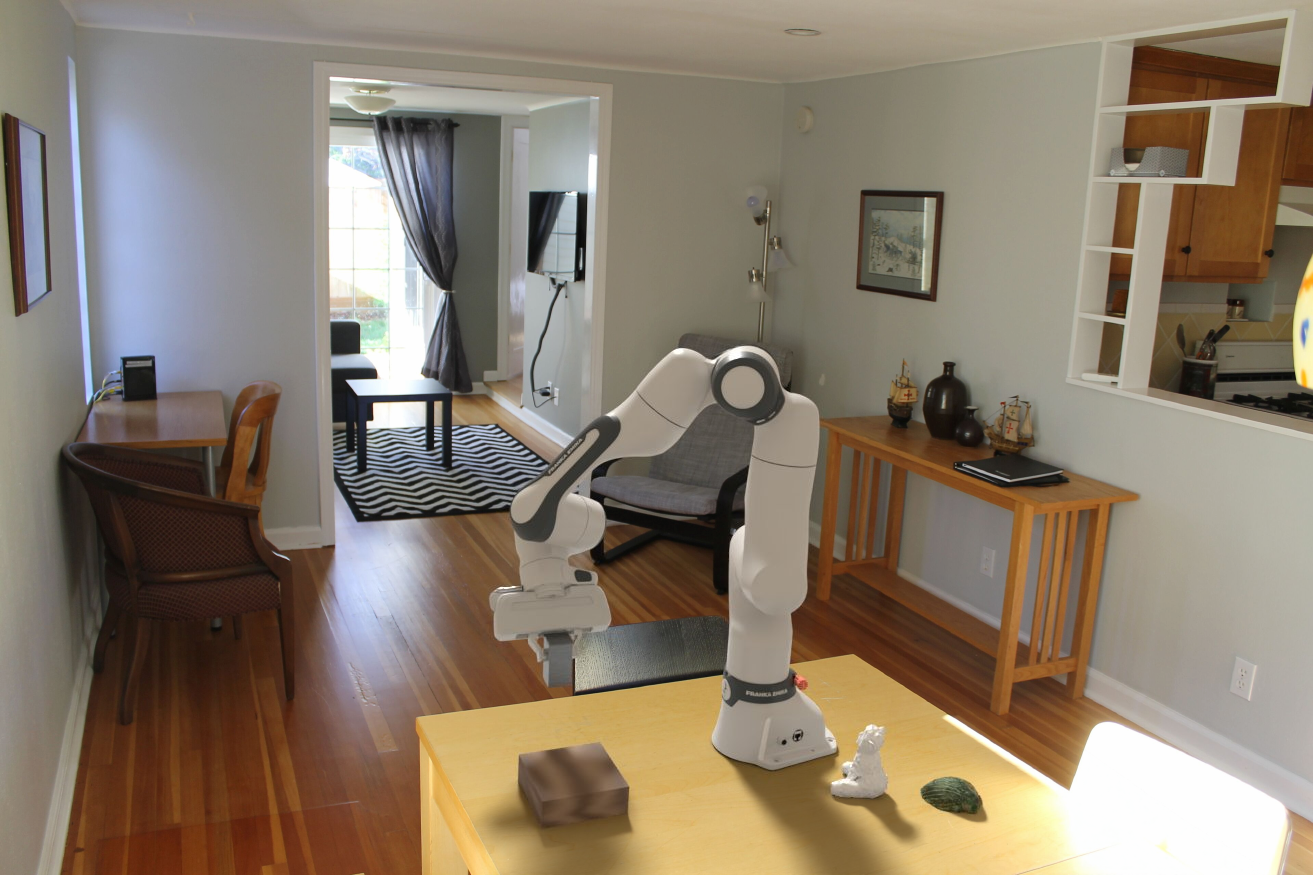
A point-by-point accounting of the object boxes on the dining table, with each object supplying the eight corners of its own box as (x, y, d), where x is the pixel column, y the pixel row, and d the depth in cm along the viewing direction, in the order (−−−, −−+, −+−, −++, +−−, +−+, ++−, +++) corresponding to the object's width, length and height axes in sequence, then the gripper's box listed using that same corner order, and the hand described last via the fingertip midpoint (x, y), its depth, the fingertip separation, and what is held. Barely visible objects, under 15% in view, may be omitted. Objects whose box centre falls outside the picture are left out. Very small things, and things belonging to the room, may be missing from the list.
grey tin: (565, 674, 175) (567, 631, 173) (571, 685, 171) (573, 641, 169) (542, 677, 173) (543, 633, 172) (548, 687, 170) (549, 643, 168)
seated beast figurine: (843, 768, 174) (850, 705, 172) (893, 783, 171) (901, 718, 168) (828, 795, 166) (835, 728, 164) (879, 810, 163) (887, 743, 160)
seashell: (956, 756, 173) (998, 787, 164) (955, 777, 174) (996, 809, 165) (909, 771, 169) (950, 803, 160) (908, 792, 170) (948, 826, 161)
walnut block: (598, 768, 171) (599, 741, 170) (627, 815, 158) (629, 786, 157) (517, 781, 165) (518, 754, 164) (541, 830, 153) (542, 801, 152)
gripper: (490, 581, 171) (500, 658, 165) (605, 572, 178) (619, 646, 171) (485, 596, 176) (494, 671, 170) (597, 586, 183) (611, 659, 176)
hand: (558, 658), depth 171 cm, fingers closed on grey tin, 4 cm apart
